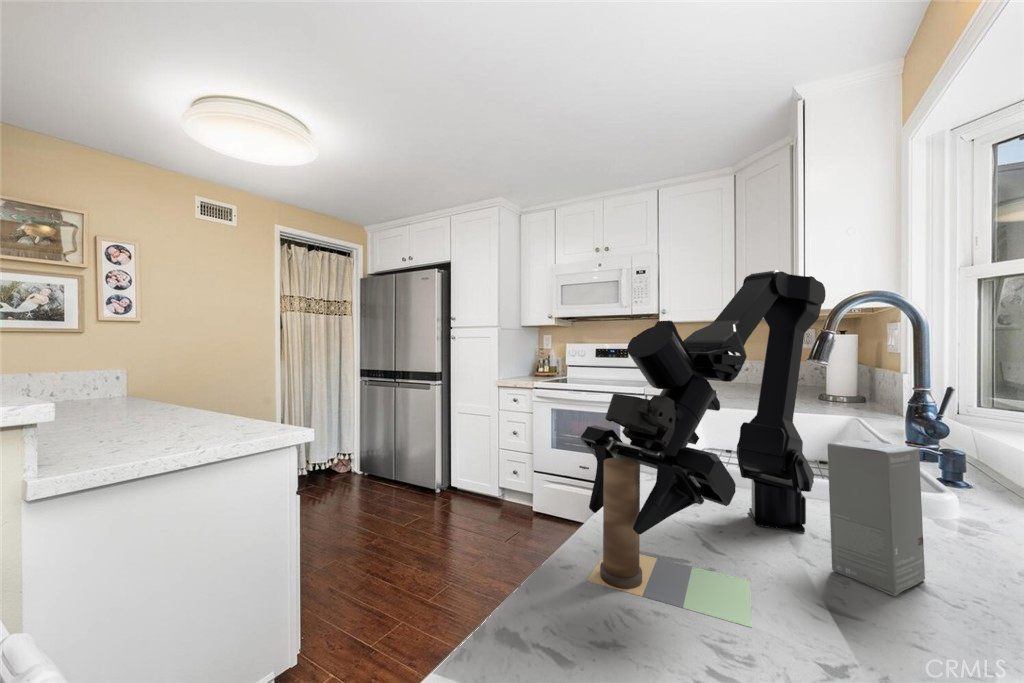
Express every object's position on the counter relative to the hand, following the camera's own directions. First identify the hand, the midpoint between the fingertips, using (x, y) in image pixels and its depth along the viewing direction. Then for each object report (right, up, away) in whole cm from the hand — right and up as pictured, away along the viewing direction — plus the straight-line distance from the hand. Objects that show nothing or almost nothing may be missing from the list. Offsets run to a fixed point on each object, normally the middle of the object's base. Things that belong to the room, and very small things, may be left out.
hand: (612, 520), depth 47 cm
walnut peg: (+1, -7, +1) cm, 7 cm away
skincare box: (+33, -9, +4) cm, 34 cm away
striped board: (+6, -8, 0) cm, 10 cm away
